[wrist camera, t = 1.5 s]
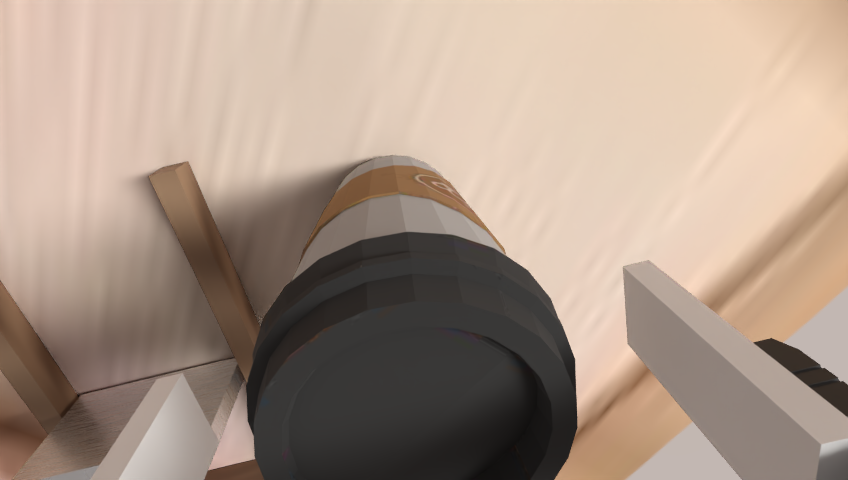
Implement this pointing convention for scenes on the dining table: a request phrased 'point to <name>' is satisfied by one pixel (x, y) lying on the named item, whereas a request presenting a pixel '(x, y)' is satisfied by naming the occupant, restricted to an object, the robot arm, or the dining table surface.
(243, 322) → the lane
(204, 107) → the dining table surface
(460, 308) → the coffee cup
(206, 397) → the pusher
